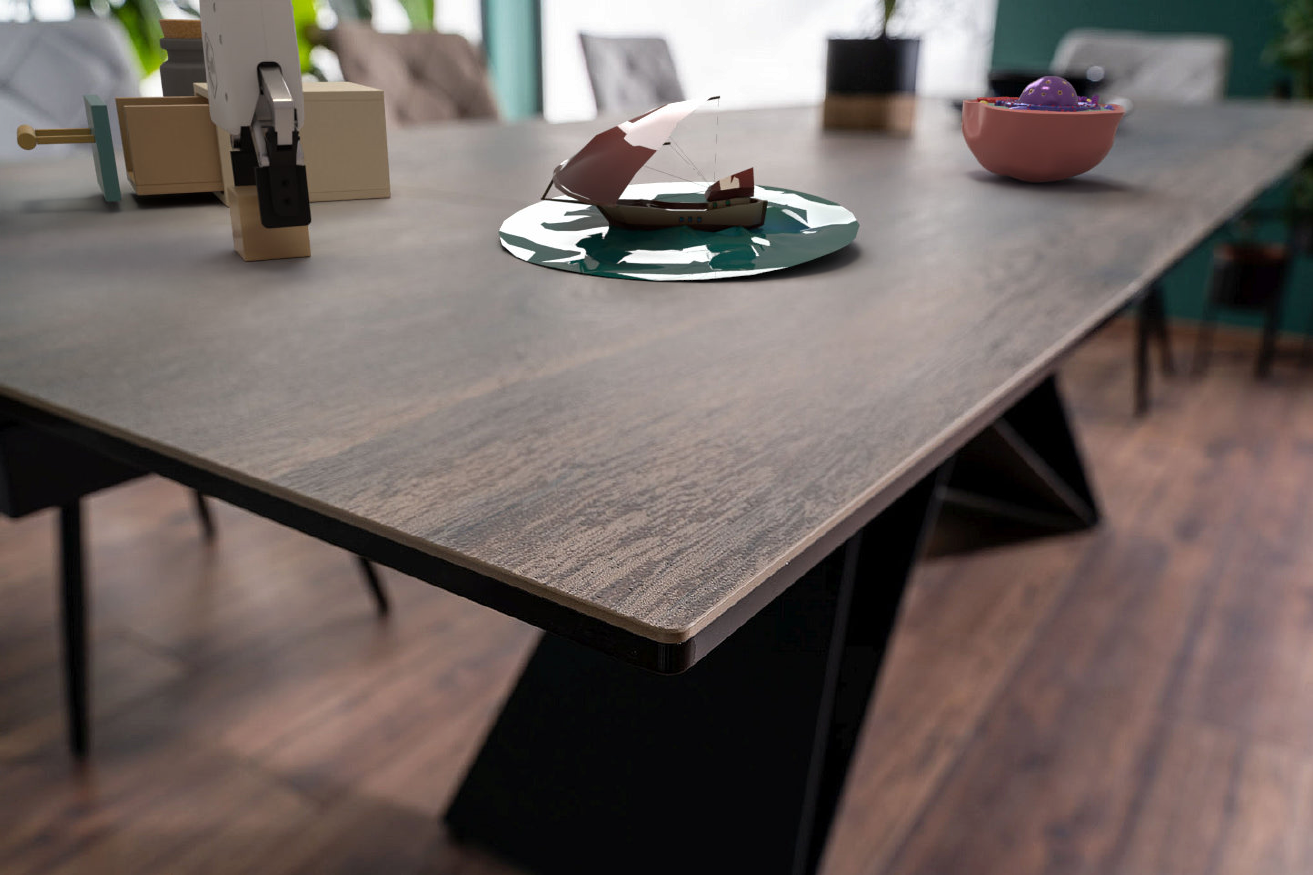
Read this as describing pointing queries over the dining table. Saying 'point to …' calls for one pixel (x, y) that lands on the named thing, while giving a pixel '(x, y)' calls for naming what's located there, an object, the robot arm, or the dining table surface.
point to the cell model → (1040, 131)
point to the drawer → (146, 144)
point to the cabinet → (332, 142)
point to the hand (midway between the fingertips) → (272, 215)
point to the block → (262, 230)
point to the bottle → (182, 57)
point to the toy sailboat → (669, 215)
